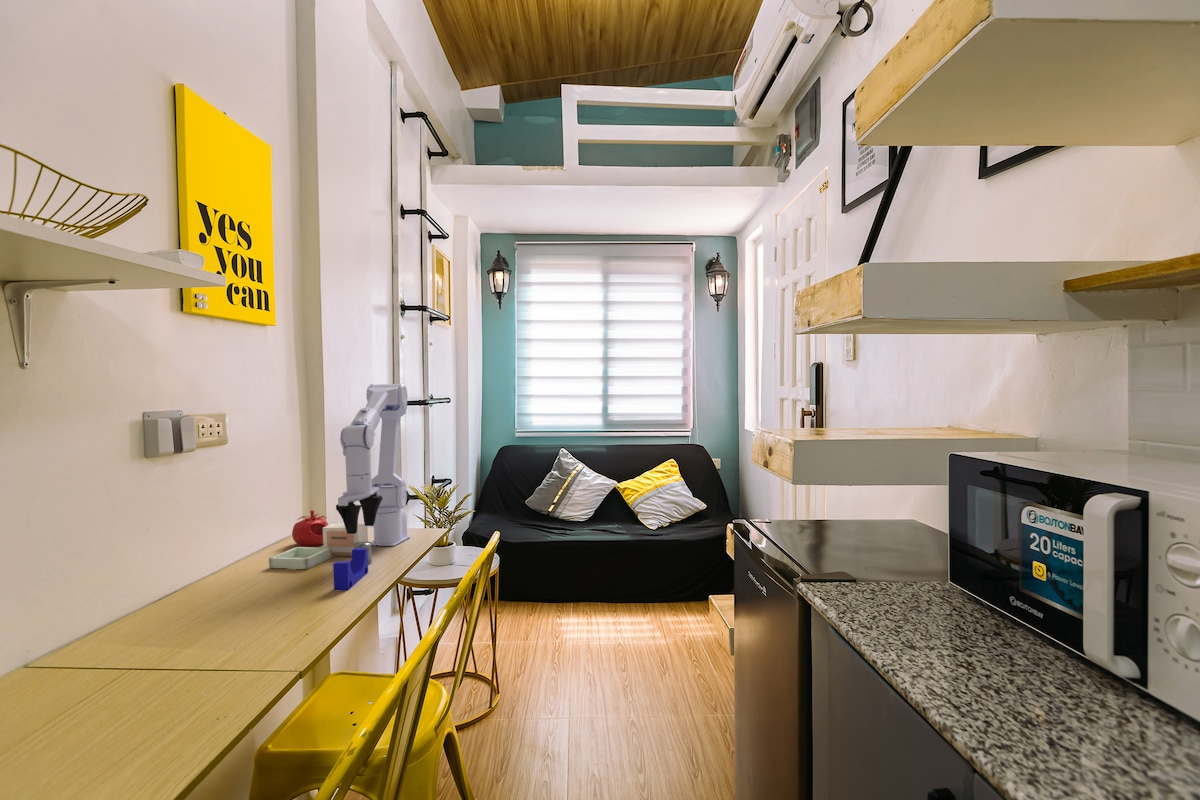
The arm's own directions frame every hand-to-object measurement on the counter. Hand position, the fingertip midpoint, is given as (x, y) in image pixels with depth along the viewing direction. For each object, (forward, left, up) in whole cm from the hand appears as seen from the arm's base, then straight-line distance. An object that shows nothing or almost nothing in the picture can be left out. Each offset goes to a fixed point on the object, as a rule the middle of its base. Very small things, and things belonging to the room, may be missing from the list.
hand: (360, 529), depth 149 cm
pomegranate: (-16, -25, -9) cm, 31 cm away
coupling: (0, 0, -8) cm, 9 cm away
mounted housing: (-8, -10, -8) cm, 15 cm away
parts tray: (+1, -16, -8) cm, 18 cm away
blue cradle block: (+13, +4, -9) cm, 16 cm away
